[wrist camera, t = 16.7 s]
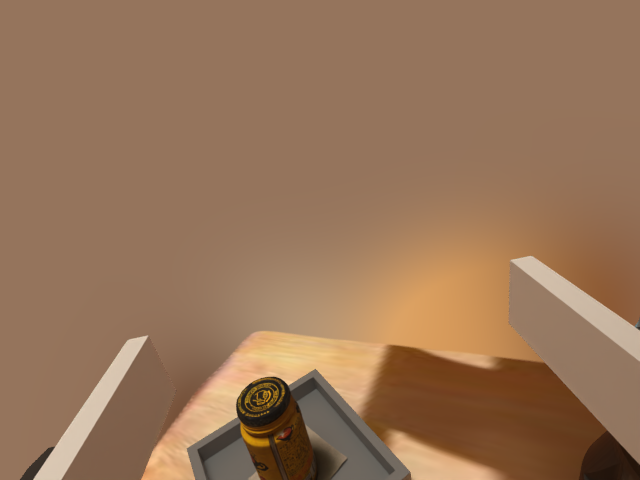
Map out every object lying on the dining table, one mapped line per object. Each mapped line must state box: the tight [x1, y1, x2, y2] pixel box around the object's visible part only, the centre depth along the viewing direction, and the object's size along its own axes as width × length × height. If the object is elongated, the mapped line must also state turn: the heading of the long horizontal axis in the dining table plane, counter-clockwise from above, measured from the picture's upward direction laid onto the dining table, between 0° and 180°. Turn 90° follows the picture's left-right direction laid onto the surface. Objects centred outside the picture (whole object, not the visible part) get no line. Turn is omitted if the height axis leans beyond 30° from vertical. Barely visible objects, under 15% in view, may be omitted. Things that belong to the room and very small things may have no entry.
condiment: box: [236, 377, 347, 480], centre depth 36 cm, size 7×8×12 cm
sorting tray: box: [187, 369, 411, 480], centre depth 38 cm, size 18×18×3 cm
